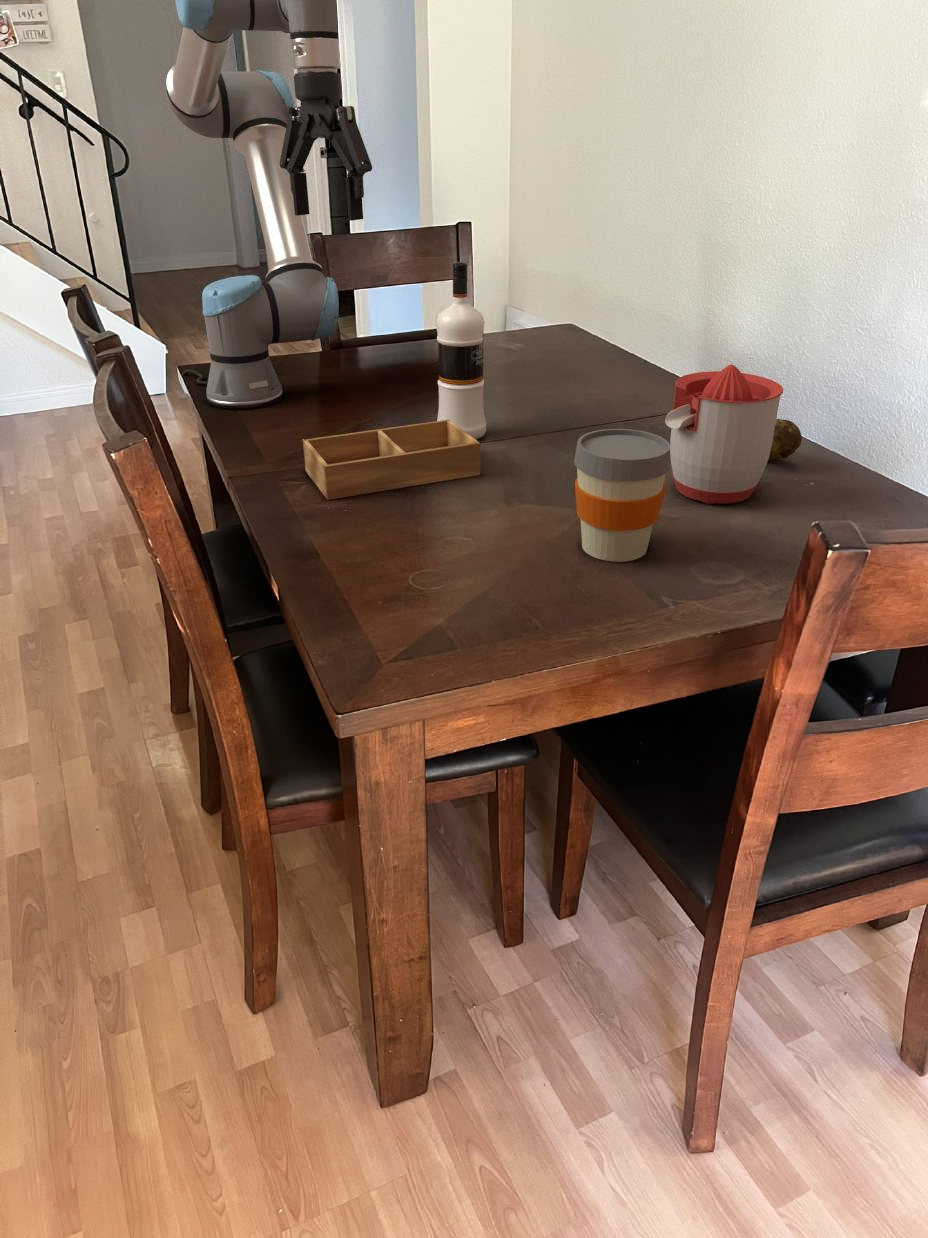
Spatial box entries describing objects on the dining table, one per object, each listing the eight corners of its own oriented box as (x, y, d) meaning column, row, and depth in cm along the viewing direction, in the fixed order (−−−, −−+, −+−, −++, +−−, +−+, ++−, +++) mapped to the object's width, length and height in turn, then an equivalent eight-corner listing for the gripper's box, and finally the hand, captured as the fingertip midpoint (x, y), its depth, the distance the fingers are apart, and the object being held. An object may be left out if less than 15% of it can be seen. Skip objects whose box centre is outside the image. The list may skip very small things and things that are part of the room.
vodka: (436, 426, 170) (433, 257, 154) (485, 426, 170) (487, 257, 154) (435, 443, 162) (431, 266, 146) (487, 443, 162) (488, 266, 146)
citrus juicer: (634, 482, 145) (647, 358, 135) (724, 467, 151) (742, 347, 140) (690, 519, 132) (708, 385, 122) (785, 501, 138) (810, 371, 128)
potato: (765, 445, 160) (773, 401, 156) (803, 471, 149) (813, 425, 145) (722, 449, 158) (729, 404, 154) (757, 475, 147) (765, 428, 143)
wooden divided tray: (305, 471, 150) (302, 439, 147) (449, 449, 159) (449, 419, 156) (327, 500, 139) (324, 466, 137) (480, 474, 148) (480, 443, 145)
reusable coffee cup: (598, 574, 118) (607, 466, 110) (553, 537, 128) (558, 435, 120) (678, 557, 122) (692, 451, 114) (628, 522, 132) (637, 423, 124)
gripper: (249, 73, 147) (264, 214, 158) (353, 68, 133) (363, 223, 143) (284, 73, 152) (297, 210, 162) (389, 69, 138) (396, 219, 148)
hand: (328, 217), depth 153 cm, fingers open, 13 cm apart
